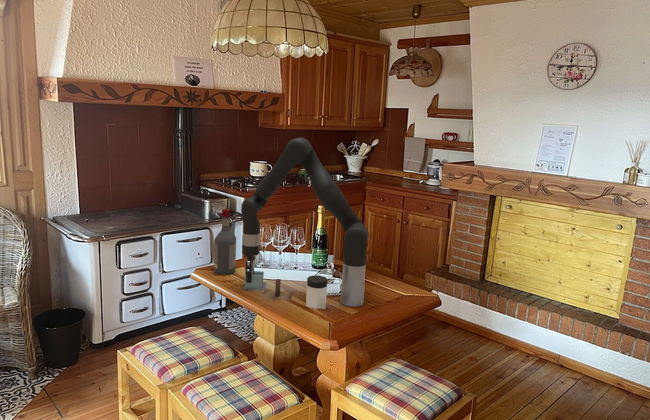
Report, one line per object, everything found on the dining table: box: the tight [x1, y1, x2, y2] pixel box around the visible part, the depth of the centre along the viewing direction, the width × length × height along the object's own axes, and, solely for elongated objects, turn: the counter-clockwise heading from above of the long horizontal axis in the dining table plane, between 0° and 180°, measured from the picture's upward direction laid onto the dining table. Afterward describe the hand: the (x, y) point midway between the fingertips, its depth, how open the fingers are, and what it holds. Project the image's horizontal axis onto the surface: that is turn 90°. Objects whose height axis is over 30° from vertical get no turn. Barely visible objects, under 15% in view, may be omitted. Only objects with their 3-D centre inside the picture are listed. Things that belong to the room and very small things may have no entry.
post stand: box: [261, 278, 293, 302], centre depth 204 cm, size 12×9×8 cm
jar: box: [305, 274, 328, 310], centre depth 197 cm, size 9×8×12 cm
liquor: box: [213, 208, 237, 276], centre depth 228 cm, size 9×9×30 cm
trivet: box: [243, 281, 267, 291], centre depth 214 cm, size 9×9×1 cm
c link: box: [244, 270, 265, 288], centre depth 213 cm, size 7×6×6 cm
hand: (250, 279), depth 213 cm, fingers open, 8 cm apart
